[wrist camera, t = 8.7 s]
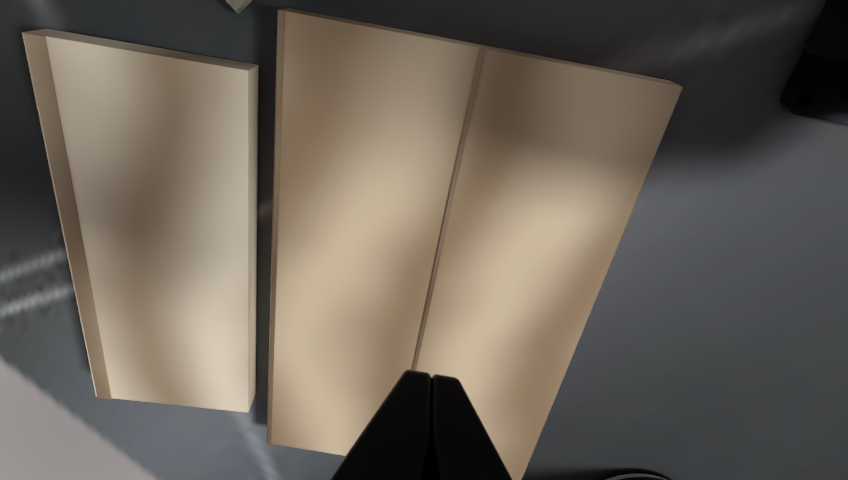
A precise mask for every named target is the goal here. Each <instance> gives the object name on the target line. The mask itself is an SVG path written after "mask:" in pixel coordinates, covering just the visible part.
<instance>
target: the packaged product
mask: <svg viewBox="0 0 848 480" xmlns="http://www.w3.org/2000/svg"><path fill="white" fill-rule="evenodd" d="M225 1H226V2H227V3H228V4H229V5H230V6H231V7H232V8H233V9H234V10H235V11H236V12H237V13H238V14H239V13H240V12H241V11H242V10H243V9H244V8H245V7H246V6H247V5H248V4H249V3H250V2H251V1H252V0H225Z"/></svg>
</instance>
